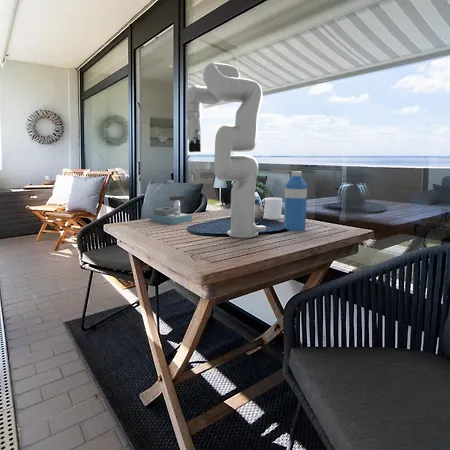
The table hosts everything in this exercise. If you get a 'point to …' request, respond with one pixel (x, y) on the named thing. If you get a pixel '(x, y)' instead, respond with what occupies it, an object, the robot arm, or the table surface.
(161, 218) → the drill base
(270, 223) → the table surface
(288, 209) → the water bottle
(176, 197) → the chuck key
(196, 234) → the table surface
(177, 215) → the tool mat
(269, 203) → the mug
